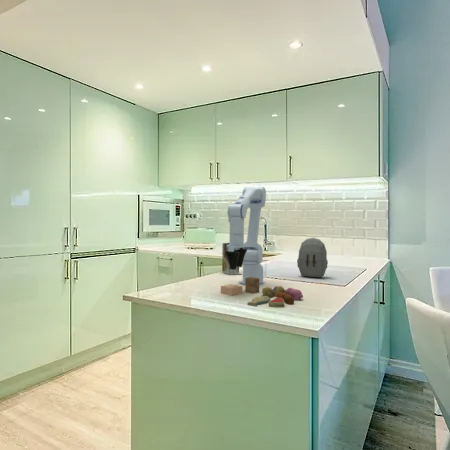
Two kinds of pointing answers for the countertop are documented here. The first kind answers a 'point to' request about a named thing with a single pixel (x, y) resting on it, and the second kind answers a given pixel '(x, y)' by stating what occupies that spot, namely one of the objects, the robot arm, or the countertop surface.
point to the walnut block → (252, 285)
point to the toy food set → (282, 296)
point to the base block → (231, 289)
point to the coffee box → (227, 262)
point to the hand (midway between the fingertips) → (236, 268)
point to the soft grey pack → (312, 258)
